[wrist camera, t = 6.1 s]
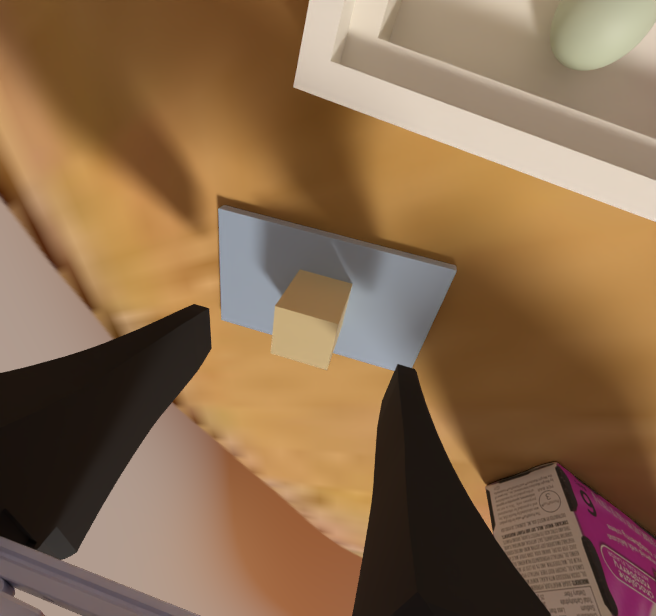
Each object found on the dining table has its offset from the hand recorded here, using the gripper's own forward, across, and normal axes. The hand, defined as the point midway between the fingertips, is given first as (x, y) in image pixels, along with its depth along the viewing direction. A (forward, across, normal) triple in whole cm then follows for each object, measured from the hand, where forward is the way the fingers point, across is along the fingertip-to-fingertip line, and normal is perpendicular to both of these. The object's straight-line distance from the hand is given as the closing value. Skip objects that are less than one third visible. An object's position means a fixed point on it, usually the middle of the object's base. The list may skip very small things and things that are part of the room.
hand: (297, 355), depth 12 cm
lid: (+5, 0, 0) cm, 5 cm away
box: (+4, -5, -11) cm, 13 cm away
